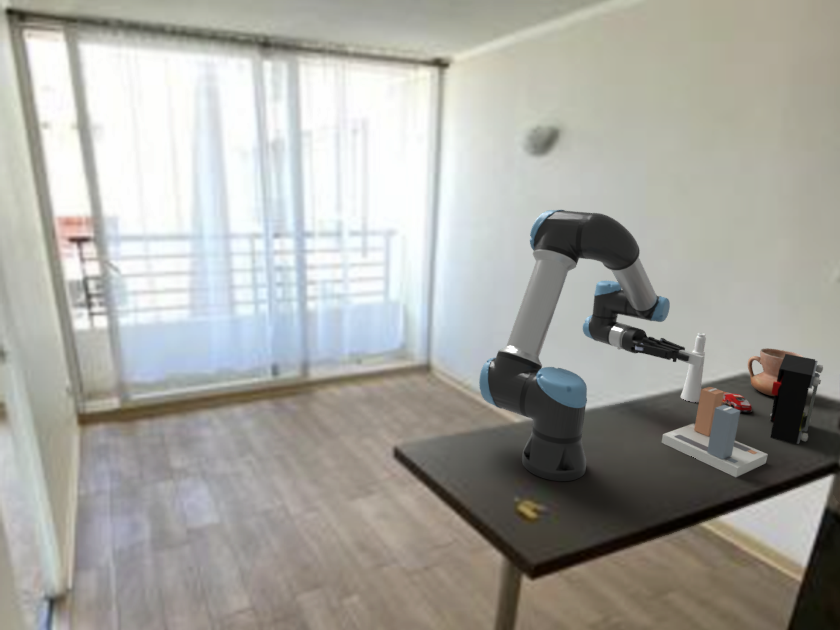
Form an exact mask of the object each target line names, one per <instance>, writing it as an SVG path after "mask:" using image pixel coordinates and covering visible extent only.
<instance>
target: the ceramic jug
mask: <svg viewBox="0 0 840 630" xmlns="http://www.w3.org/2000/svg"><path fill="white" fill-rule="evenodd" d="M759 353H760V354H759V355H760V356H757V355H753V356H751V357H750V358H748V360H747V370H748V373H749V376H750V384H751V386H752V387H753V388H754V389H755V390H756V391H758V392H760V393H762V394H764V395H767V396H769V397H774V396H775V395H773V394H772V388H773V382H774V381H775V382H777V377H778V373H779V368H780V366H781V364H782V361H783V359H784V356H785V354H789V355H794V356H800V357H804V356H803V355H801V354H799V353H797V352H793V351H788V350H784V349H783V350H781V349H776V348H766V347H765V348H761V349H760V352H759ZM754 361H757V362H758V363H759V364H760V365H761V367H762V370H763V371H761V372H759V373H757V374H755V373H754V370H753V362H754Z"/></svg>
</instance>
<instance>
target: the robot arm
mask: <svg viewBox="0 0 840 630" xmlns="http://www.w3.org/2000/svg"><path fill="white" fill-rule="evenodd" d="M529 235H530V238H529V245H530V247H531V249H532V250H533V252H532V257H533V258H534V260H535V263H534V266H533V269H532V272H531V275H530V277H529V281H528V283H527V285H526V290H525V293H524V295H523V297H522V301H521V304H520V306H519V308H518V312H517V314H516V318H515V320H514V324H513V325H512V330H511V331H510V332H511V333H510V334H509V337H508V341H507V342H506V345H505V347H503V348H501V349H498V351H497V354H496V357H492V358H488V359H487V360H486V362H485V363H483V365H482V368H481V370H480V374H479V379H478V380H479V384H478V386H479V390H480V394H481V398H482V399H483V400H484V401H485V402H486V403H488V404H489V405H492V406H494V407H496V408H499V409H503V410H505V411H509V412H511V413H514V414H517V415H520V416H523V417H525V418H528V419H531V420H532V429H531V432H530V433H531V434H530V435H529V437H528V439H527V441H526V444H525V446H524V448H523V450H522V457H521V463H522V465H523V468H525V469H526V470H527V471H528V472H529V473H531V474H533V475H534V476H536V477H538V478H542V479H546V480H549V481H555V482H570V481H575V480H578V479H580V478H582V477H583V476H584V475H585V473H586V468H587V458H586V454H585V449H584V445H583V440H582V437H583V429H584V421H585V415H586V406H587V403H588V402H587V401H588V398H587V396H588V393H587V392H588V387H587V384H586V382H585V380H584V379H583V378H582V377H581V376H580V375H578V374H577V373H575V372H573V371H570V370H568V369H564V368H563V367H562V368H561V367H554V366H546V367H545V366H544V367H543V364H542V362H541V360H540V355H541V352H542V349H543V346H544V343H545V341H546V337H547V334H548V332H549V329H550V325H551V323H552V319H553V317H554V314H555V310H556V308H557V306H558V302H559V299H560V297H561V293H562V290H563V288H564V285H565V282H566V279H567V276H568V273H569V271H571V270H573V269H575V268H577V265H578V262H579V260H580V259H585V260H593V261H597V262H600V263H602V264H603V266H604V267H605V268H606V269H608V270H610V271H611V272H612V274H613V276H614V278H615V279H616V281H615V280H600V281H598V282H597V283H596V285H595V290H594V293H593V296H594V298H593V304H592V306H593V307H592V314H591V315H589V316H587V317H586V318H585V319H584V323H583V324H582V332H583V334H584V335H585V336H586V337H587V338H590V339H591V340H594V341H595V342H600V343H602V344H606V345H608V346H612V347H615V348H617V350H624V351H627V352H628V353H632V354H643V355H648V356H652V357H655V358H661V359H664V360H668V361H670V360H671V359H672V362H673V363H677V361H679V362H680V361H681V362H682V363H683V362H684V363H687V364H688V365H689V364H692V365H695V366H699V367H701V366H703V362H704V363H705V357H704V356H701V355H698V354H695V353H692V351H689V350H688V351H687V350H686V347H685V346H681V345H680V344H677V343H674V342H672V341H670V340H667V339H666V338H664V337H661V338H660V339H656V338H655V337H653V336H647V332H646V331H645V330H644V329H642V328H639V327H635V326H632V325H628V324H625V323H623V322H618V321H617V320H618V316H619V315H620V316H627V317H631V318H637V319H640V320H645V321H649V322H658V323H662V322H665V321H666V319H667V318H668V315H669V314H670V313H669V312H670V300H669V298H667V297H665V296H661V295H657V293H656V292H655V289H654V287H653V285H652V283H651V280H650V278H649V276H648V275H647V274H648V273H647V272H646V269H645V267H644V266H643V263H642V261H641V259H640V253H641V252H640V251H641V250H640V246H639V245H638V244H639V243H637V241H636V238H635V237H634V236H633V235H632V233H631V231H629V229H627V228H626V226H624V225H623V224H621V222H619V221H618V220H616V219H614V218H612V217H611V216H609V215H606V214H604V213H599V212H598V213H597V212H583V211H571V210H566V209H549V210H546V211H544V212H542V213H540V214H539V216H537V217H536V219H535V220H534V222H533V224H532V227H531V229H530V233H529ZM703 367H704V366H703Z"/></svg>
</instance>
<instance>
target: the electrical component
mask: <svg viewBox="0 0 840 630" xmlns="http://www.w3.org/2000/svg"><path fill="white" fill-rule="evenodd" d="M823 370H824V365H822V364H818V360H816V359H815V358H809V357H806V356H805V357H804V356H803V357H800V356H794V355H789V354H785V356H784V359H783V361H782V364H781V366H780V368H779V373H778V377H777V382H775V381H774V382H773V388H772V394H773V395H775V396H773V404H772V411H771V413H770V415H769V416H770V422H773V424H772V427H771V432H770V439H775V440H777V441H778V440H779V441H783V442H786V443H789V444H793V445H797V444H798V445H800V442H801V441H803V442H807V441H808V439H809V433H807V432H808V430H809V426H810V424H812V423H811V422H812V418H811V417H812V413H813V409H814V404H815V399H816V396H817V395H816V394H817V392H818V391H817V390H818V387H819V385H821V381H822V380H821V377H820V376H821V375H820V374H821V373H822V372H823ZM809 389H812V393H811V397H810V402H809V406H808V411H807V412H805V408H806V403H807V398H808V394H809Z"/></svg>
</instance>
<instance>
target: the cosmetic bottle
mask: <svg viewBox="0 0 840 630" xmlns="http://www.w3.org/2000/svg"><path fill="white" fill-rule="evenodd" d="M694 341H695V343H694V348H693V349H692V351H691V353H695V354H698V355H701V356H704V358H705V356H706V352H705V346H706V341H707V338H706V333H704V332H703V333H702V332H697V336H695V340H694ZM704 363H705V361H704V362H703V366H701V367H699V366H695V365H692V364H689V363H688V368H687V374H686V376H685V377H686V379H685V381H684V385H683V388H682V391H681V394H680V398H681V400H683V399H684V400H683V401H685V400H686V402H688V401H690V402H689V403H695V402H696V403H699V399H700V393H701V389H702V383H703V382H702V381H703V373H704Z"/></svg>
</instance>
